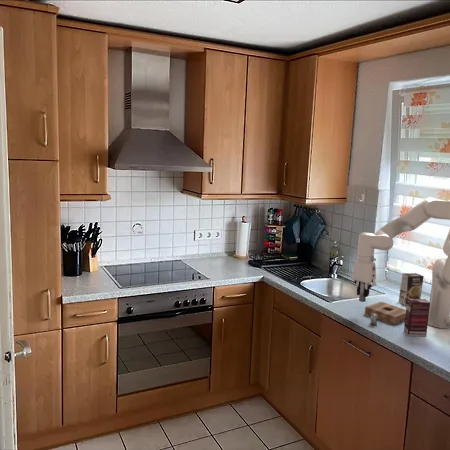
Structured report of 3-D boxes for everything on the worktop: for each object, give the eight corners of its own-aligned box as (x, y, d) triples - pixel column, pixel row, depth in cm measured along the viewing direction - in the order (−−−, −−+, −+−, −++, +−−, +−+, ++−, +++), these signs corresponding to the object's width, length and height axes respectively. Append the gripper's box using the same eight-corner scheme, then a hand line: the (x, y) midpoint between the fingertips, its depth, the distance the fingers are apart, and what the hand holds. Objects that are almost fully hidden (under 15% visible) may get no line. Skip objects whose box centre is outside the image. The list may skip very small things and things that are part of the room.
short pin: (378, 325, 218) (379, 314, 217) (374, 326, 216) (375, 316, 215) (372, 322, 220) (373, 312, 219) (368, 324, 218) (370, 314, 218)
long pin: (366, 301, 226) (368, 281, 224) (363, 302, 224) (364, 282, 222) (361, 299, 228) (362, 279, 226) (357, 300, 226) (359, 280, 225)
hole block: (409, 318, 228) (410, 311, 227) (394, 325, 219) (395, 317, 218) (380, 309, 240) (380, 301, 239) (364, 314, 231) (365, 306, 230)
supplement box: (421, 332, 212) (426, 298, 209) (426, 336, 207) (431, 302, 204) (402, 331, 212) (407, 298, 209) (407, 336, 207) (411, 301, 204)
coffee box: (405, 306, 247) (409, 276, 244) (398, 301, 253) (401, 273, 250) (420, 305, 249) (424, 276, 246) (412, 301, 255) (416, 272, 253)
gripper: (385, 261, 219) (382, 298, 222) (355, 254, 231) (352, 290, 234) (376, 263, 214) (373, 301, 217) (346, 256, 226) (343, 292, 229)
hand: (362, 295), depth 226 cm, fingers closed on long pin, 3 cm apart
